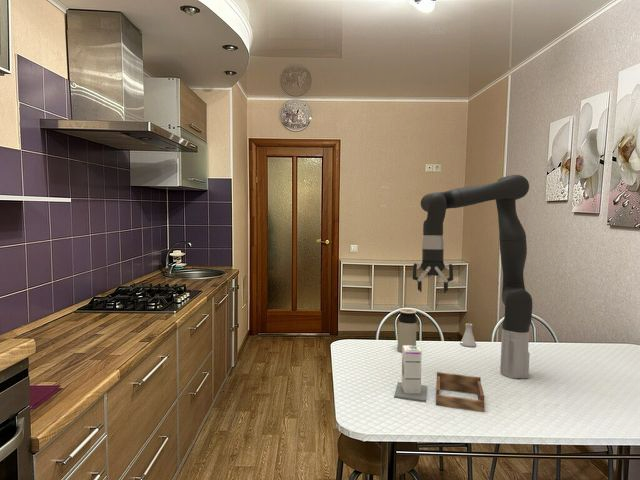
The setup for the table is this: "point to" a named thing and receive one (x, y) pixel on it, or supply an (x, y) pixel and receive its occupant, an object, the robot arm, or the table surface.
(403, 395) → the mat
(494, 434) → the table surface
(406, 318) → the travel mug
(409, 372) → the syrup box
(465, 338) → the flask
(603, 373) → the table surface
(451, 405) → the frame
